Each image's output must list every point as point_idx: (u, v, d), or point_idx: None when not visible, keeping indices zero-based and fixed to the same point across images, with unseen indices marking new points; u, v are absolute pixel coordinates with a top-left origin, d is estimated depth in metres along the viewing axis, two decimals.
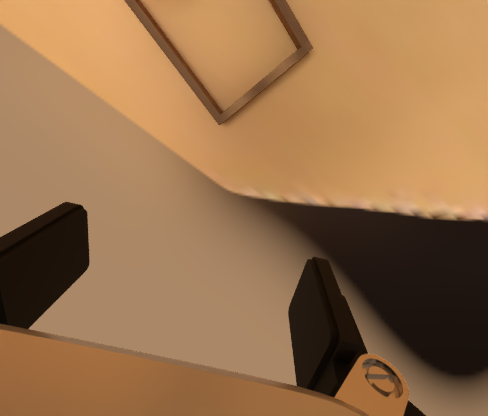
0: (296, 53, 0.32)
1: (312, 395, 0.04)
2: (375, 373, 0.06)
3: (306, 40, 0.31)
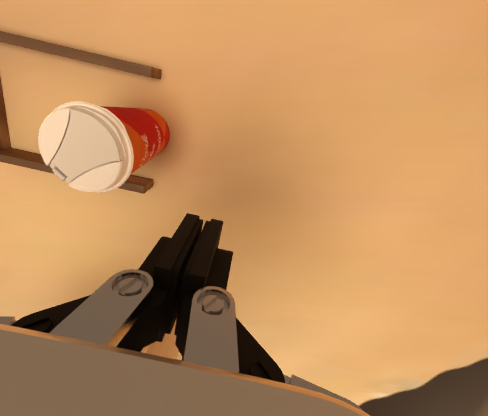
0: None
1: (312, 395, 0.04)
2: (208, 301, 0.07)
3: None
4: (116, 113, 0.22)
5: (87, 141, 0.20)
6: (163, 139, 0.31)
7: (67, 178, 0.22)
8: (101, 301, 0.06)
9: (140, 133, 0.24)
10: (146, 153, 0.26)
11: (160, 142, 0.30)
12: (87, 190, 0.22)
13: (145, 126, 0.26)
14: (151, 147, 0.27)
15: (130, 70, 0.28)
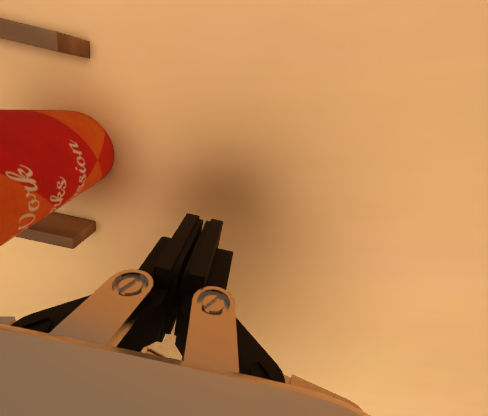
0: None
1: (312, 395, 0.04)
2: (208, 301, 0.07)
3: None
4: None
5: None
6: (95, 164, 0.18)
7: None
8: (101, 301, 0.06)
9: (3, 167, 0.11)
10: (32, 203, 0.13)
11: (85, 171, 0.17)
12: None
13: (30, 147, 0.13)
14: (54, 186, 0.14)
15: (18, 38, 0.15)
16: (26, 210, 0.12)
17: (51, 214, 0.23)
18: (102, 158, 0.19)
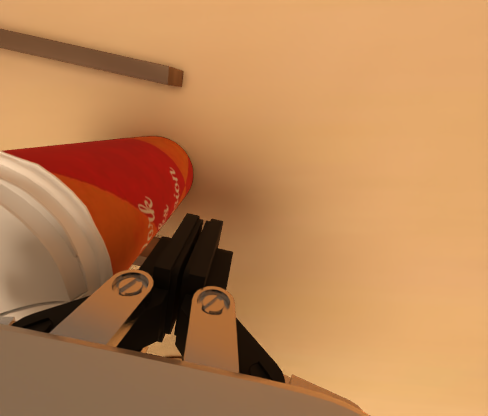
0: None
1: (312, 395, 0.04)
2: (208, 301, 0.07)
3: None
4: (79, 165, 0.10)
5: None
6: (184, 189, 0.18)
7: None
8: (101, 301, 0.06)
9: (136, 200, 0.11)
10: (150, 233, 0.13)
11: (178, 196, 0.17)
12: None
13: (149, 178, 0.13)
14: (162, 214, 0.14)
15: (130, 73, 0.15)
16: (146, 240, 0.13)
17: None
18: (187, 182, 0.19)
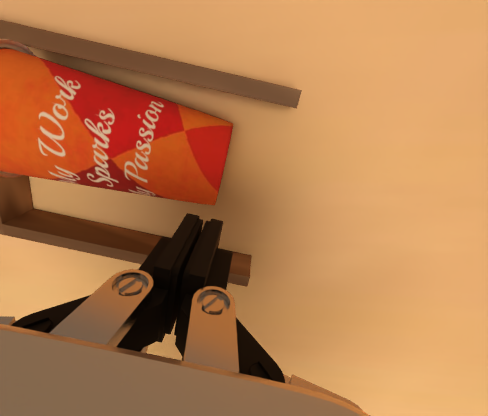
0: None
1: (312, 395, 0.04)
2: (208, 301, 0.07)
3: (5, 233, 0.20)
4: None
5: None
6: (177, 132, 0.14)
7: None
8: (101, 301, 0.06)
9: (60, 74, 0.13)
10: (59, 108, 0.13)
11: (154, 128, 0.14)
12: None
13: (104, 83, 0.14)
14: (94, 111, 0.13)
15: (260, 96, 0.15)
16: (49, 109, 0.13)
17: None
18: (197, 135, 0.14)
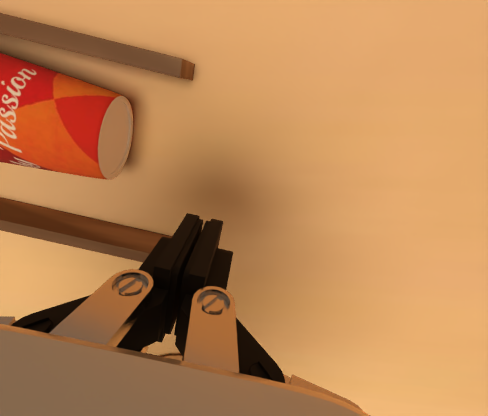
0: None
1: (312, 395, 0.04)
2: (208, 301, 0.07)
3: None
4: None
5: None
6: (45, 100, 0.14)
7: None
8: (101, 301, 0.06)
9: None
10: None
11: (19, 96, 0.13)
12: None
13: None
14: None
15: (142, 64, 0.15)
16: None
17: (131, 229, 0.23)
18: (68, 104, 0.14)
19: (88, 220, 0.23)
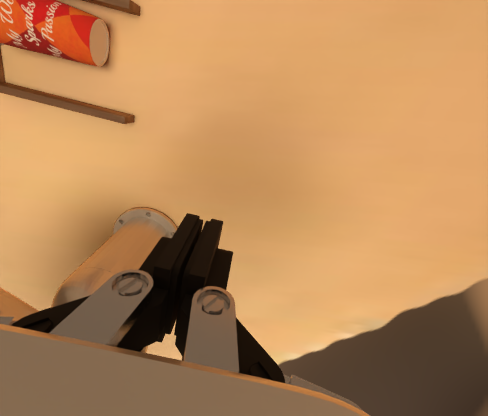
0: None
1: (312, 395, 0.04)
2: (208, 301, 0.07)
3: None
4: None
5: None
6: (66, 15, 0.30)
7: None
8: (101, 301, 0.06)
9: None
10: None
11: (54, 12, 0.30)
12: None
13: None
14: (25, 1, 0.29)
15: (111, 2, 0.32)
16: None
17: (109, 109, 0.39)
18: (76, 18, 0.31)
19: (85, 103, 0.39)
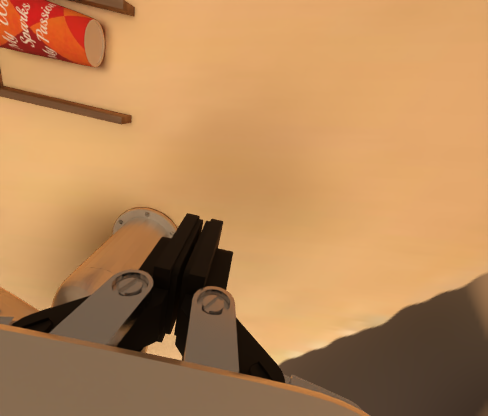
0: None
1: (312, 395, 0.04)
2: (208, 301, 0.07)
3: None
4: None
5: None
6: (60, 16, 0.30)
7: None
8: (101, 301, 0.06)
9: None
10: (4, 0, 0.29)
11: (49, 13, 0.30)
12: None
13: None
14: (20, 3, 0.30)
15: (105, 3, 0.32)
16: None
17: (106, 110, 0.39)
18: (70, 18, 0.31)
19: (82, 104, 0.39)
